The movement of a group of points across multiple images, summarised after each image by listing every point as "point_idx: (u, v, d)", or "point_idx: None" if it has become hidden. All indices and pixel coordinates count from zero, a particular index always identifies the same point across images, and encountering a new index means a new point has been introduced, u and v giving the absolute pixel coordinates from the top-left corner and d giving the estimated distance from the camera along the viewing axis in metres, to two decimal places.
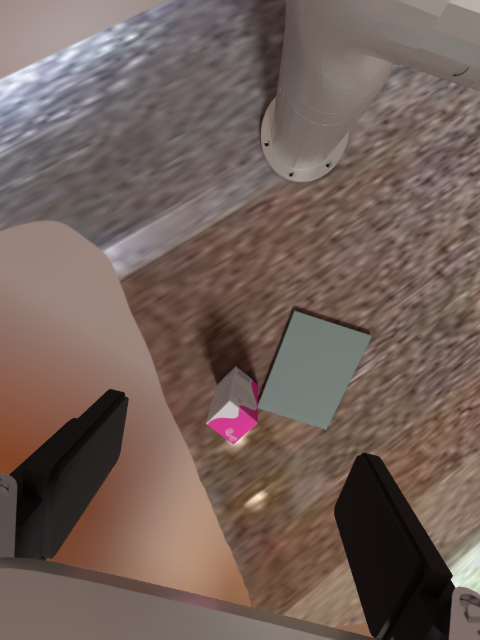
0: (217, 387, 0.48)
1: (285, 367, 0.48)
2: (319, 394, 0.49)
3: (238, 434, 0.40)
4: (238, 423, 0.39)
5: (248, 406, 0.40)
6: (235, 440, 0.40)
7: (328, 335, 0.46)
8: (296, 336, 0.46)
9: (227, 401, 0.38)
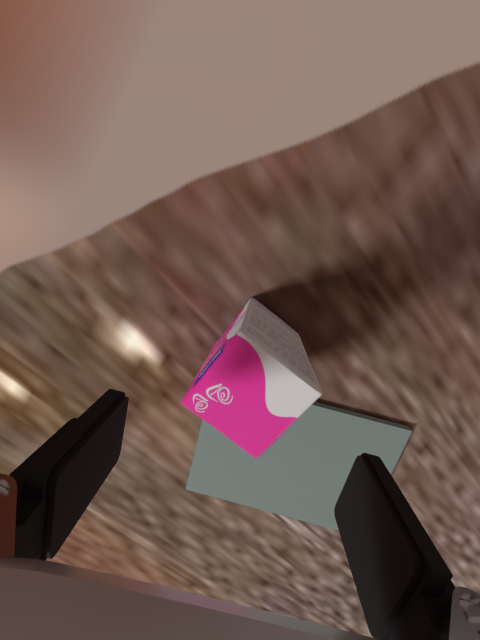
0: (257, 304, 0.22)
1: (301, 422, 0.26)
2: (252, 475, 0.28)
3: (215, 415, 0.15)
4: (249, 417, 0.14)
5: None
6: (195, 408, 0.15)
7: None
8: (363, 436, 0.26)
9: (315, 385, 0.14)
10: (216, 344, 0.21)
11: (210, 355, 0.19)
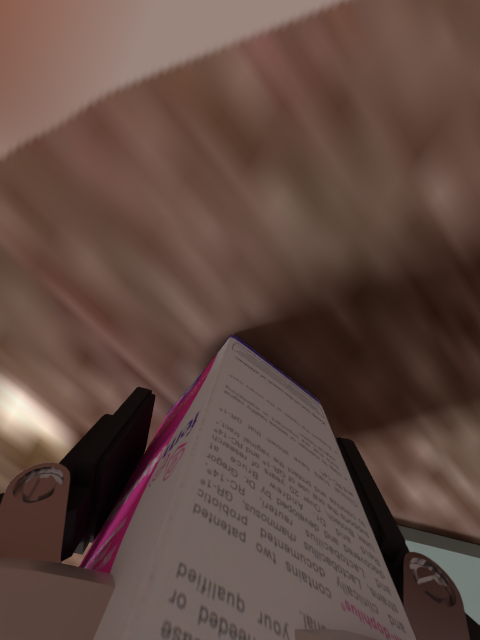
0: (240, 355, 0.11)
1: None
2: None
3: None
4: None
5: None
6: None
7: None
8: None
9: None
10: (148, 453, 0.10)
11: (111, 521, 0.07)
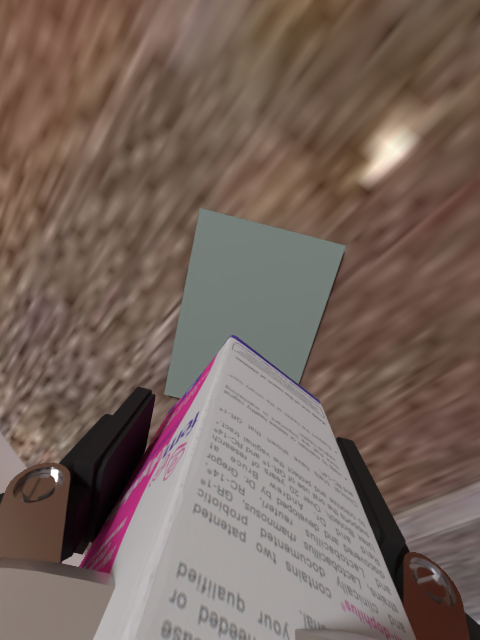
0: (240, 355, 0.11)
1: (293, 335, 0.27)
2: (226, 287, 0.26)
3: None
4: None
5: None
6: None
7: None
8: None
9: None
10: (149, 453, 0.10)
11: (111, 521, 0.07)
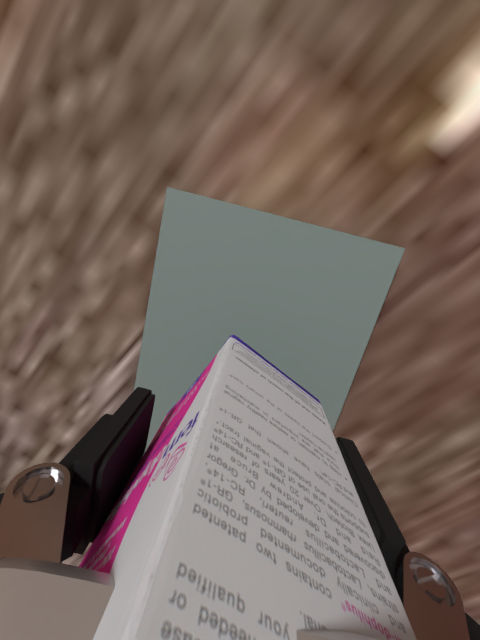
0: (240, 355, 0.11)
1: (315, 386, 0.17)
2: (211, 314, 0.17)
3: None
4: None
5: None
6: None
7: None
8: None
9: None
10: (148, 452, 0.10)
11: (111, 521, 0.07)
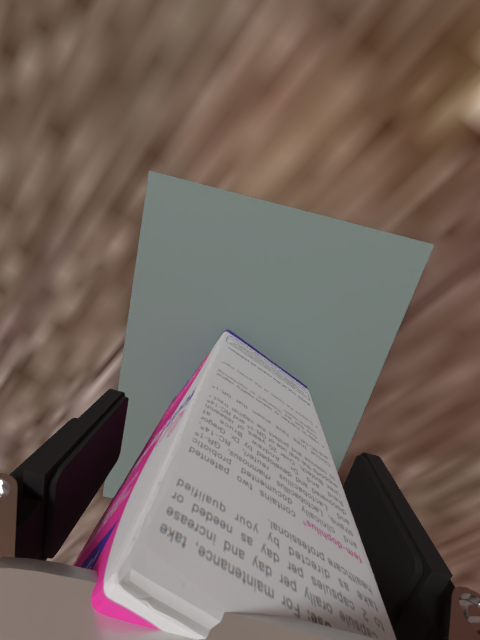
0: (233, 346, 0.12)
1: (325, 406, 0.15)
2: (204, 322, 0.14)
3: None
4: None
5: None
6: None
7: None
8: None
9: None
10: (155, 432, 0.11)
11: (125, 482, 0.09)
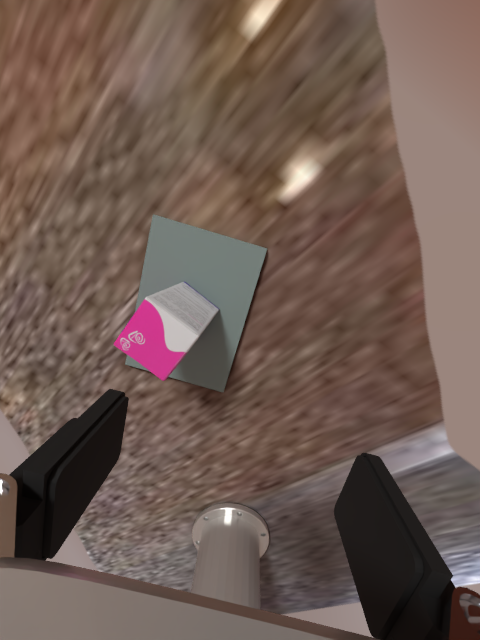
0: (184, 286, 0.31)
1: (228, 318, 0.34)
2: (174, 278, 0.33)
3: (135, 352, 0.23)
4: (156, 352, 0.23)
5: None
6: (122, 347, 0.23)
7: None
8: (217, 362, 0.35)
9: (195, 331, 0.22)
10: None
11: None
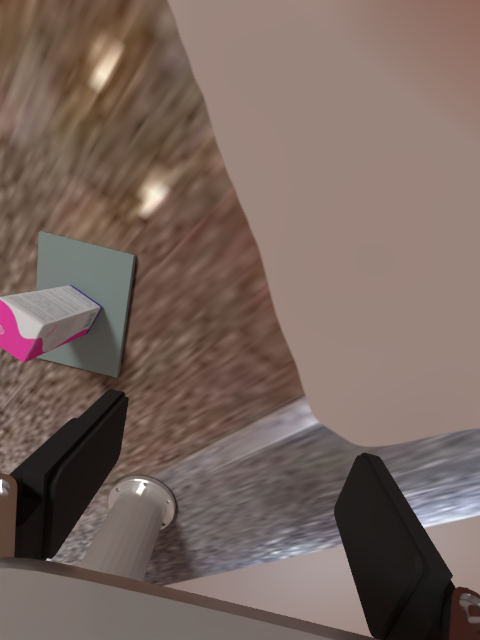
0: (66, 288, 0.38)
1: (111, 314, 0.40)
2: (63, 282, 0.40)
3: None
4: (14, 340, 0.30)
5: (44, 344, 0.32)
6: None
7: (75, 354, 0.42)
8: (108, 351, 0.42)
9: (41, 322, 0.29)
10: None
11: None
